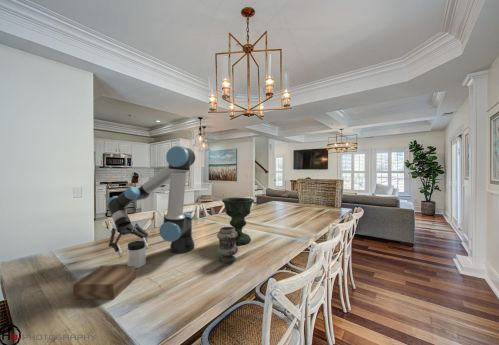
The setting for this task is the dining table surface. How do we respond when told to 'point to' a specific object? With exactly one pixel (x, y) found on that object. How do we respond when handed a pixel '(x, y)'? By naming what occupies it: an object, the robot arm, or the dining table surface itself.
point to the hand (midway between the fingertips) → (134, 252)
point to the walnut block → (104, 282)
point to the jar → (136, 254)
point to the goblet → (238, 216)
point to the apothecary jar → (227, 244)
